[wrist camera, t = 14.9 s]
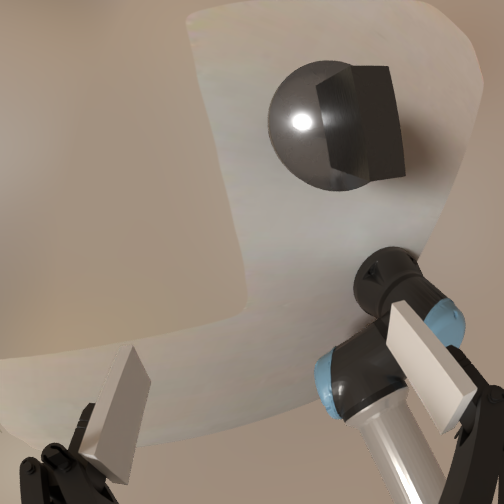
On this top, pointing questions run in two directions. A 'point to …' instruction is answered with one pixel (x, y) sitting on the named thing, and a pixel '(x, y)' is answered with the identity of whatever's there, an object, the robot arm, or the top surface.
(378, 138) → the lid
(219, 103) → the top surface
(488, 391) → the robot arm
